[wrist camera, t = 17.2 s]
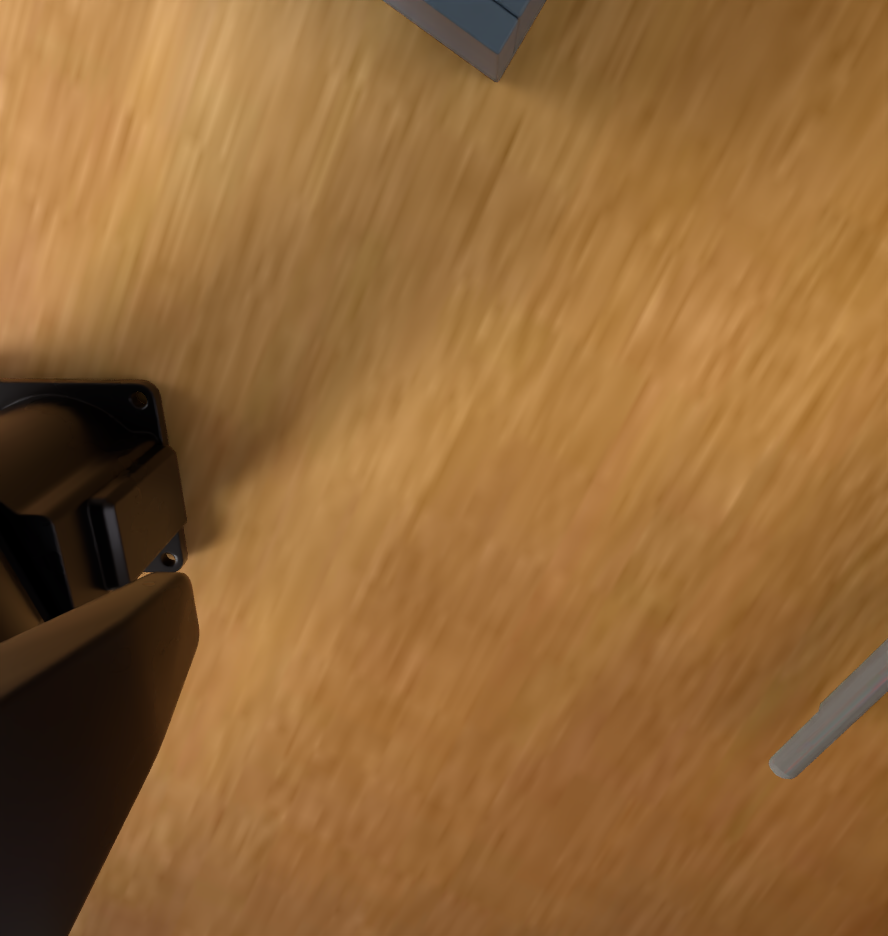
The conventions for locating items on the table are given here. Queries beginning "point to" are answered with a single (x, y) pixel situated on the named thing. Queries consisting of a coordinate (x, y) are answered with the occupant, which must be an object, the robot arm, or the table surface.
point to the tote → (475, 27)
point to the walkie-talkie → (834, 715)
